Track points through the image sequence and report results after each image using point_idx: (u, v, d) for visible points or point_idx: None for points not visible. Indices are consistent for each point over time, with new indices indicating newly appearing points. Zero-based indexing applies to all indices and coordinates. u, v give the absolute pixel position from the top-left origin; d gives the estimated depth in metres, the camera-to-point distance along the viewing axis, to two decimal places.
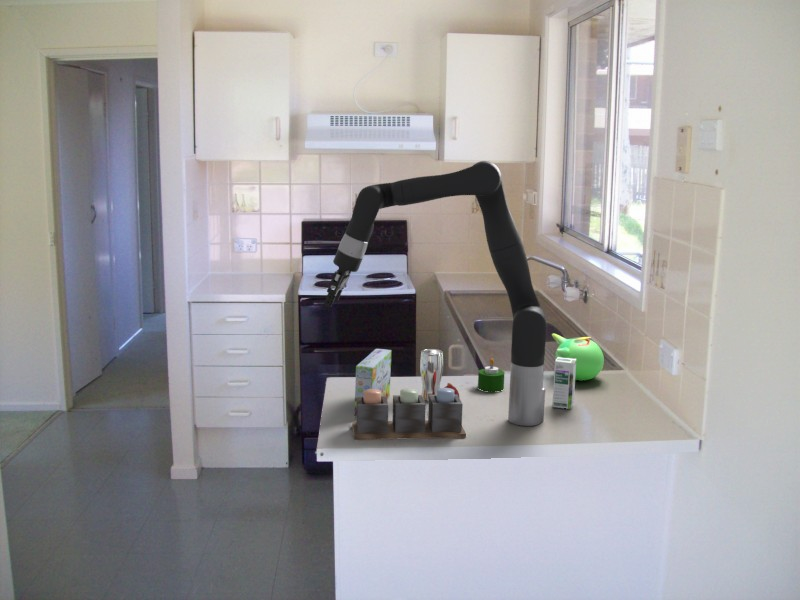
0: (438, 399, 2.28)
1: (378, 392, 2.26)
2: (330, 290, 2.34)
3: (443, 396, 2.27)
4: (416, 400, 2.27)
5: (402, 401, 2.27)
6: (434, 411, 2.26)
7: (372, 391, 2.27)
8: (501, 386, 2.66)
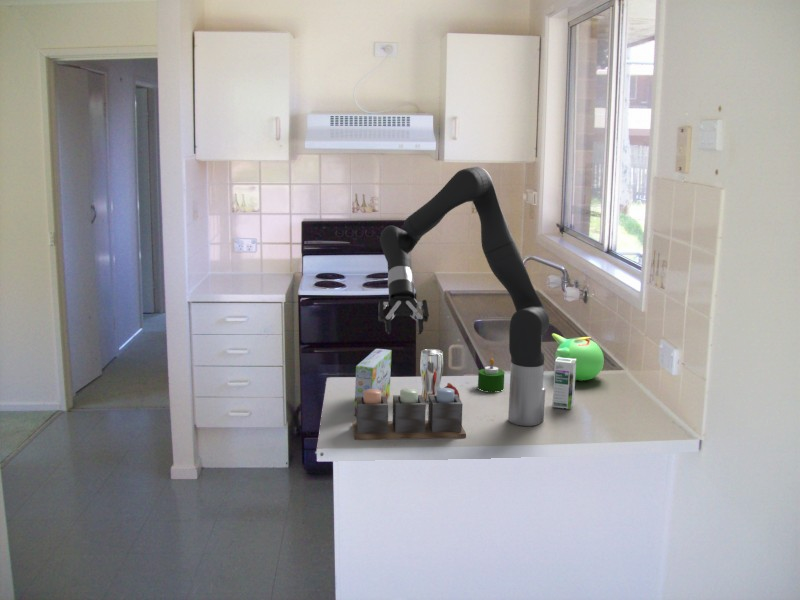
0: (438, 399, 2.28)
1: (378, 392, 2.26)
2: None
3: (443, 396, 2.27)
4: (416, 400, 2.27)
5: (402, 401, 2.27)
6: (434, 411, 2.26)
7: (372, 391, 2.27)
8: (501, 386, 2.66)
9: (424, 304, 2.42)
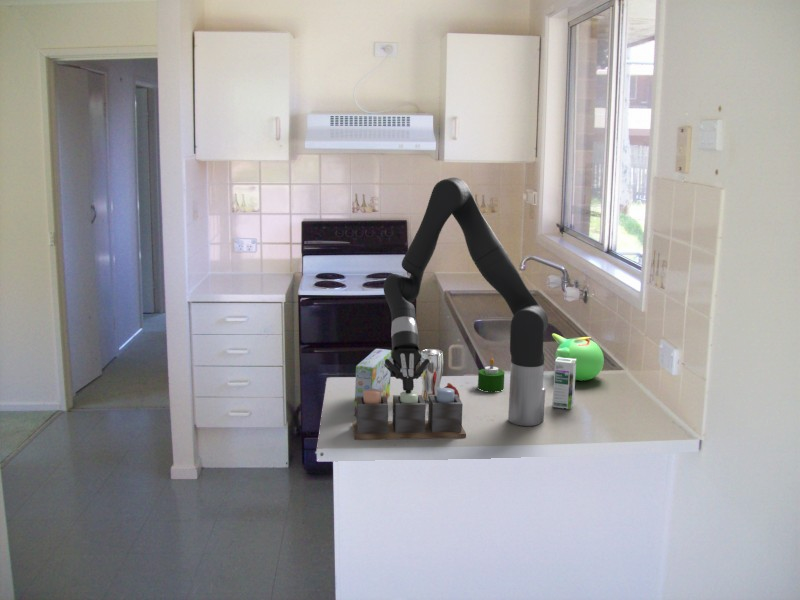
0: (438, 399, 2.28)
1: (378, 392, 2.26)
2: (396, 375, 2.31)
3: (443, 396, 2.27)
4: None
5: None
6: (434, 411, 2.26)
7: (372, 391, 2.27)
8: (501, 386, 2.66)
9: (424, 363, 2.32)
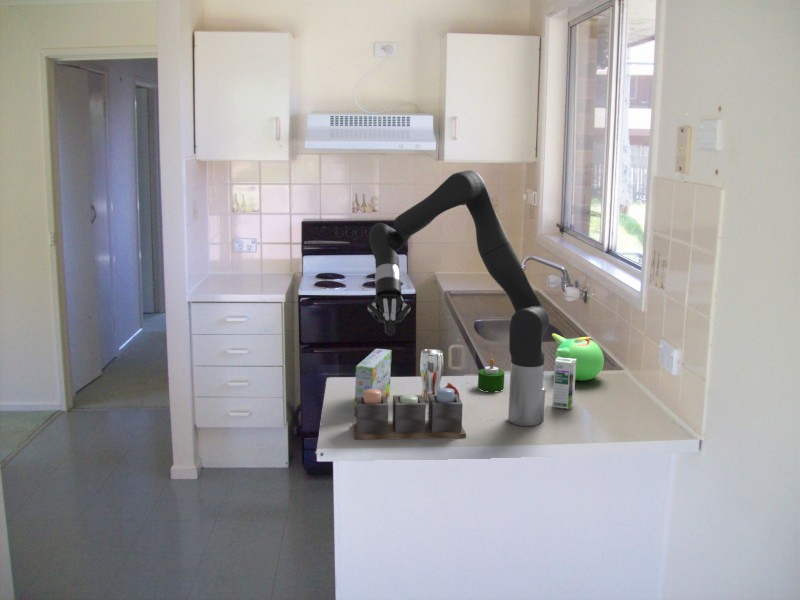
0: (438, 399, 2.28)
1: (378, 392, 2.26)
2: (378, 319, 2.39)
3: (443, 396, 2.27)
4: None
5: None
6: (434, 411, 2.26)
7: (372, 391, 2.27)
8: (501, 386, 2.66)
9: (406, 307, 2.40)
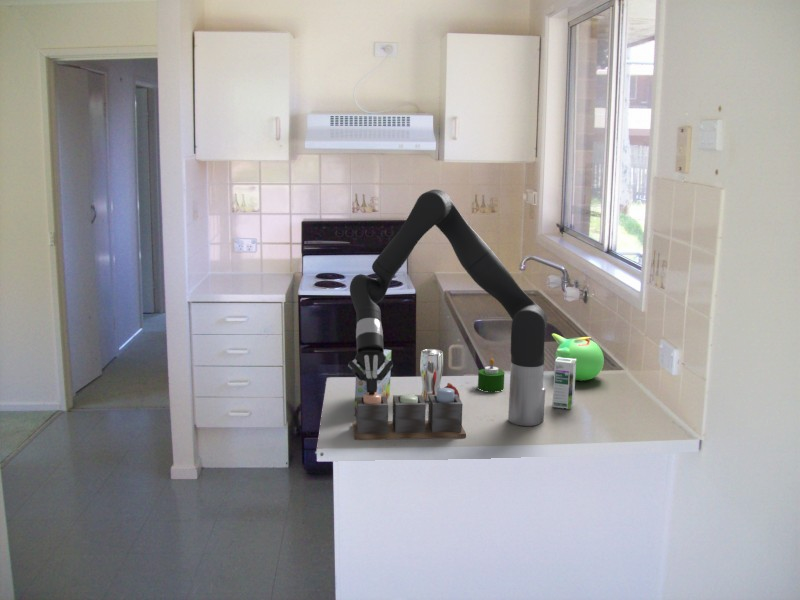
0: (438, 399, 2.28)
1: (378, 396, 2.26)
2: (359, 377, 2.30)
3: (443, 396, 2.27)
4: None
5: None
6: (434, 411, 2.26)
7: (372, 395, 2.27)
8: (501, 386, 2.66)
9: (388, 364, 2.31)
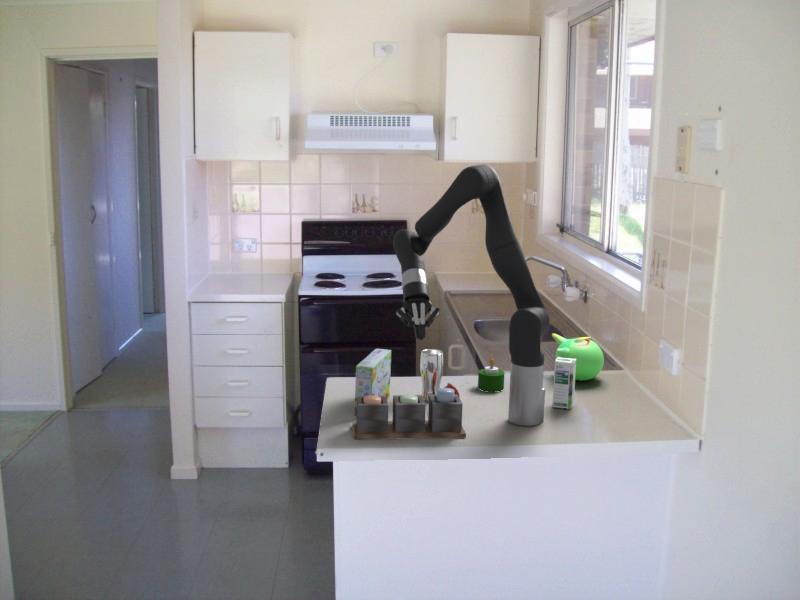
0: (438, 399, 2.28)
1: (378, 398, 2.27)
2: (408, 324, 2.39)
3: (443, 396, 2.27)
4: None
5: None
6: (434, 411, 2.26)
7: (371, 397, 2.27)
8: (501, 386, 2.66)
9: (435, 311, 2.41)
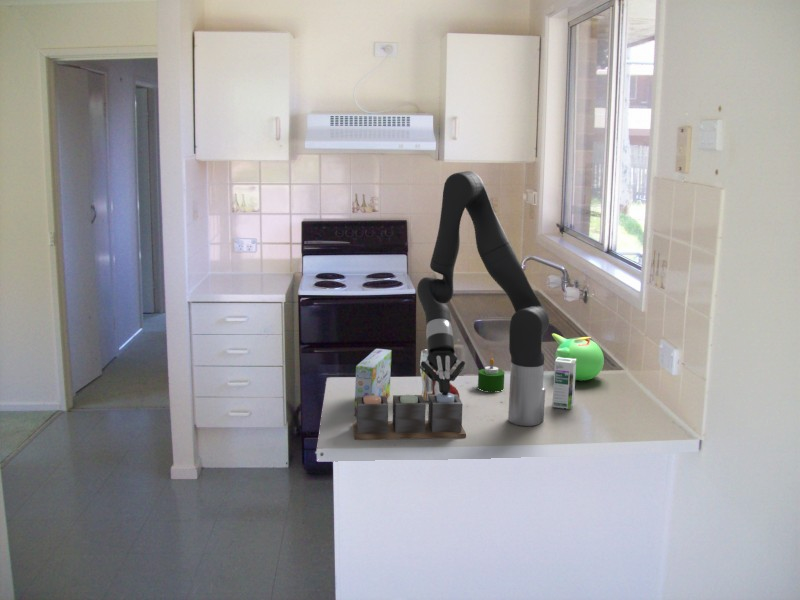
0: None
1: (378, 398, 2.27)
2: (432, 378, 2.32)
3: (443, 401, 2.27)
4: None
5: None
6: (434, 411, 2.26)
7: (371, 397, 2.27)
8: (501, 386, 2.66)
9: (460, 365, 2.33)
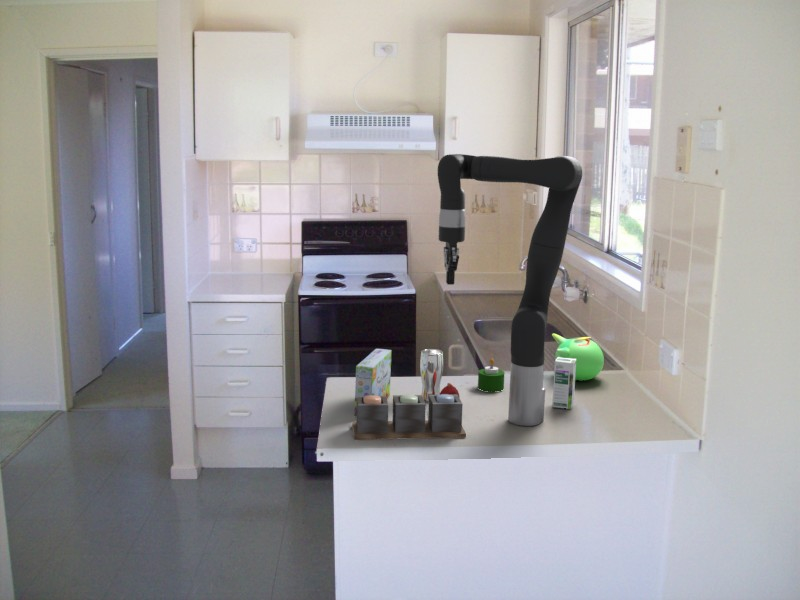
0: None
1: (378, 398, 2.27)
2: (451, 269, 2.41)
3: (443, 402, 2.27)
4: None
5: None
6: (434, 411, 2.26)
7: (371, 397, 2.27)
8: (501, 386, 2.66)
9: None
